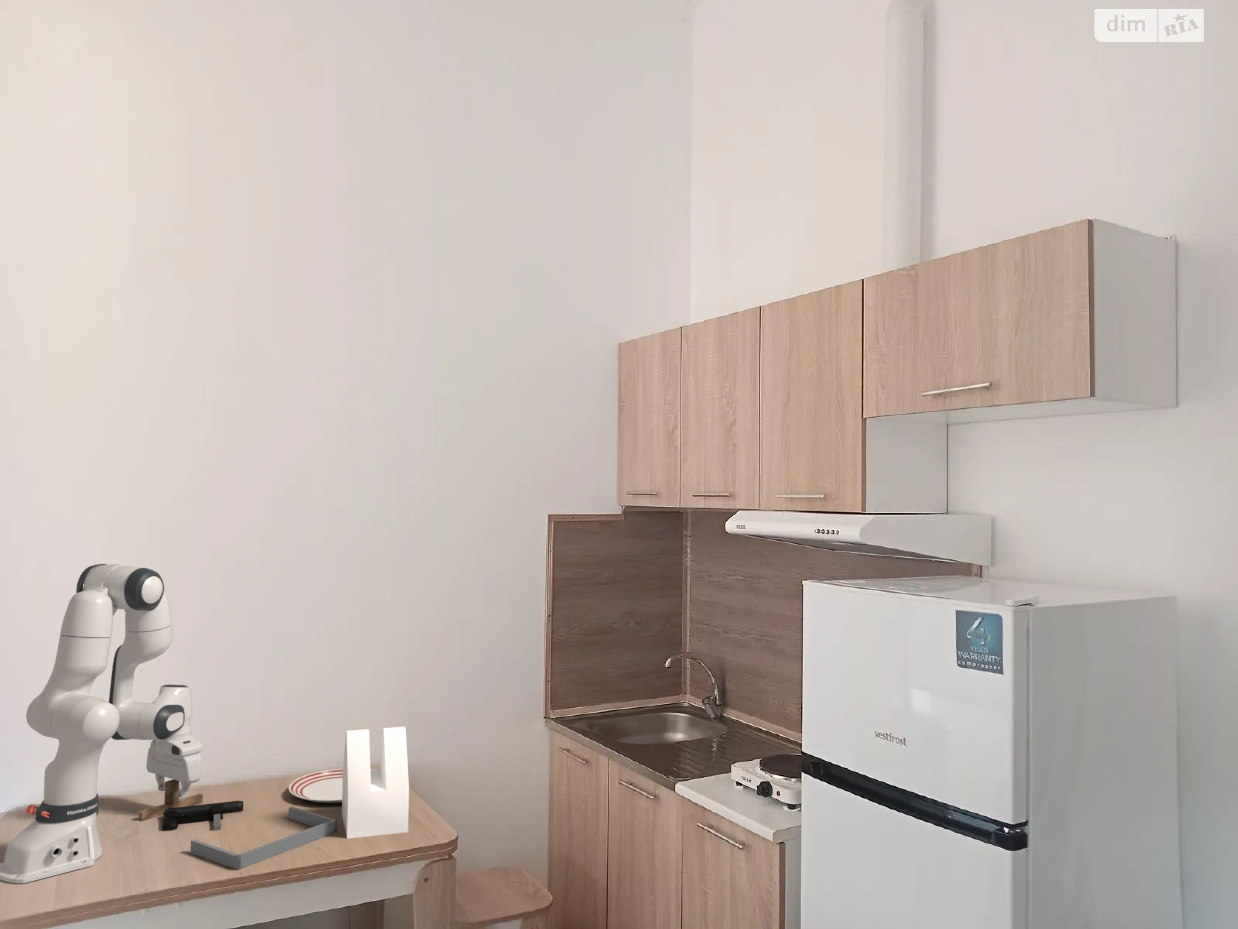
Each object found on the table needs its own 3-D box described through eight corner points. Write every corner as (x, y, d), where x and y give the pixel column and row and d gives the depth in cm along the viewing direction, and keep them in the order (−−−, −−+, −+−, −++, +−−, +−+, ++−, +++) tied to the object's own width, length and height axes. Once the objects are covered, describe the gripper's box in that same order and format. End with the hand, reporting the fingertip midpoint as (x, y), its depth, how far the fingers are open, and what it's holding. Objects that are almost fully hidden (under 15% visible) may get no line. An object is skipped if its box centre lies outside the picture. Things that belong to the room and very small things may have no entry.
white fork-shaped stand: (341, 814, 261) (343, 723, 261) (398, 808, 266) (400, 719, 266) (347, 839, 243) (349, 740, 243) (408, 832, 248) (410, 736, 248)
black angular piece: (244, 819, 250) (243, 797, 264) (160, 829, 242) (163, 805, 257) (244, 832, 250) (242, 808, 264) (160, 842, 242) (163, 817, 257)
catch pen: (237, 870, 222) (237, 857, 222) (190, 853, 231) (190, 840, 232) (337, 831, 247) (337, 820, 247) (291, 817, 257) (291, 806, 257)
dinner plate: (387, 805, 269) (387, 793, 269) (284, 813, 261) (285, 800, 261) (384, 776, 295) (384, 765, 295) (291, 782, 288) (292, 771, 288)
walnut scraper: (142, 822, 252) (143, 790, 253) (138, 821, 253) (138, 788, 254) (203, 803, 268) (204, 773, 268) (199, 802, 269) (199, 772, 269)
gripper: (141, 739, 264) (139, 789, 264) (185, 751, 253) (184, 803, 253) (162, 734, 269) (161, 783, 269) (206, 746, 258) (205, 797, 258)
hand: (172, 793), depth 261 cm, fingers open, 8 cm apart
